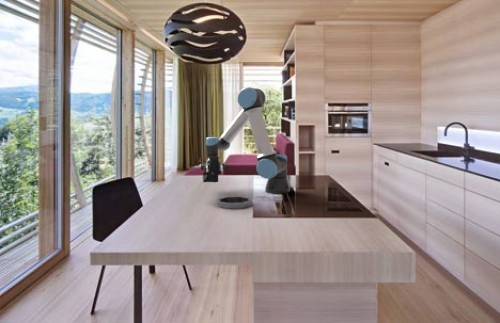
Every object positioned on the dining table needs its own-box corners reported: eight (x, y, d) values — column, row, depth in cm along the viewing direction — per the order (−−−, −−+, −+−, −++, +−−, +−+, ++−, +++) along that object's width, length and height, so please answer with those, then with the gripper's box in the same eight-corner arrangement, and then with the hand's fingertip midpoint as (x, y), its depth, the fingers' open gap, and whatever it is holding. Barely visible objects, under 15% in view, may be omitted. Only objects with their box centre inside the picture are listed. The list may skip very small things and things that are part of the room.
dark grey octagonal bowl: (248, 200, 220) (248, 195, 220) (253, 207, 203) (253, 203, 202) (216, 201, 218) (216, 197, 218) (218, 209, 200) (218, 204, 200)
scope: (205, 156, 223) (222, 156, 222) (205, 180, 225) (223, 180, 224) (201, 157, 215) (219, 157, 214) (202, 182, 217) (219, 183, 216)
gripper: (229, 170, 239) (233, 175, 217) (196, 170, 237) (195, 176, 214) (229, 157, 238) (233, 162, 216) (195, 158, 236) (195, 162, 213)
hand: (214, 169), depth 215 cm, fingers closed on scope, 7 cm apart
